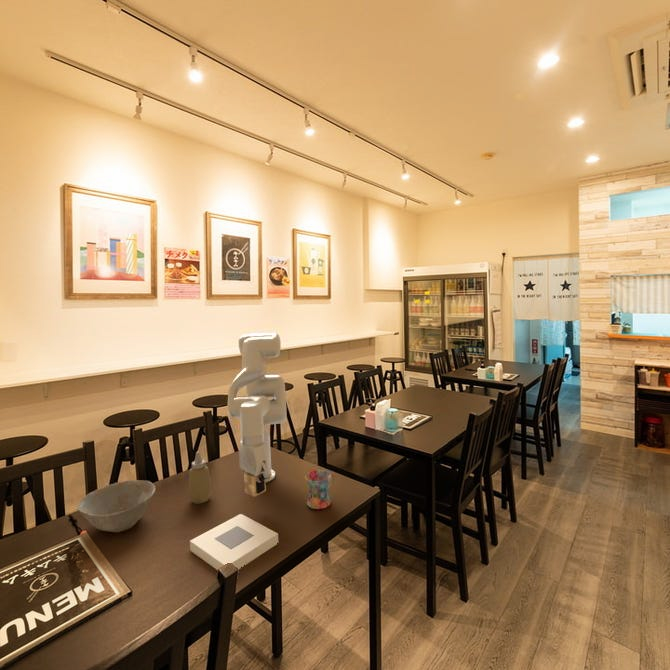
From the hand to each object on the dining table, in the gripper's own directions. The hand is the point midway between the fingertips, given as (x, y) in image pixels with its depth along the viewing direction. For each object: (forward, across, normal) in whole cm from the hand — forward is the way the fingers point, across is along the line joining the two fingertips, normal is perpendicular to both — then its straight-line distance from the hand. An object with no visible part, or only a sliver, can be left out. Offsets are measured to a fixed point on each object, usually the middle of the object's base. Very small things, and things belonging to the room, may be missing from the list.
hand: (255, 488), depth 134 cm
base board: (+7, +11, -17) cm, 21 cm away
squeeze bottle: (+9, -22, -8) cm, 25 cm away
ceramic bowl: (+8, -29, -33) cm, 45 cm away
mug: (+8, +15, +17) cm, 24 cm away
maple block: (+1, 0, 0) cm, 1 cm away
